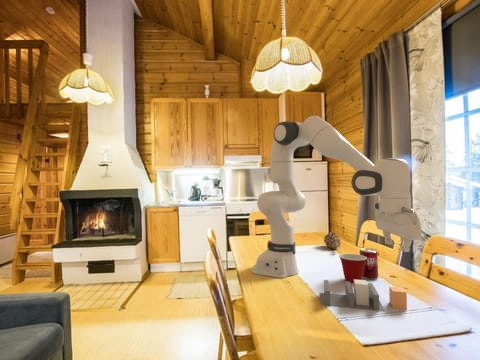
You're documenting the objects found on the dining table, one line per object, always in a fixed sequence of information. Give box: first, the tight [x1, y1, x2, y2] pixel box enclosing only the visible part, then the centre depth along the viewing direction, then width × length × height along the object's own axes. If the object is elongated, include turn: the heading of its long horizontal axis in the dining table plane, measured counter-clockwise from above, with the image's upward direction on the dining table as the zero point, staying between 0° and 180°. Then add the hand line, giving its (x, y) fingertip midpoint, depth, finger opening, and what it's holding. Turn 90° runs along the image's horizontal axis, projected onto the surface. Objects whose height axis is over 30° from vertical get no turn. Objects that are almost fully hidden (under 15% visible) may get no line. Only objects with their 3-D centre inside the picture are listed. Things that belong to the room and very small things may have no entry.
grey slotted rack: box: [319, 279, 386, 312], centre depth 91 cm, size 20×10×6 cm, turn 75°
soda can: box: [359, 247, 379, 280], centre depth 117 cm, size 7×7×12 cm
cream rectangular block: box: [353, 279, 369, 306], centre depth 90 cm, size 4×4×7 cm
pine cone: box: [323, 231, 342, 250], centre depth 163 cm, size 22×10×10 cm, turn 2°
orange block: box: [388, 286, 408, 310], centre depth 88 cm, size 4×4×7 cm
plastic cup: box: [338, 253, 367, 285], centre depth 110 cm, size 11×11×12 cm
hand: (396, 247), depth 87 cm, fingers open, 8 cm apart
